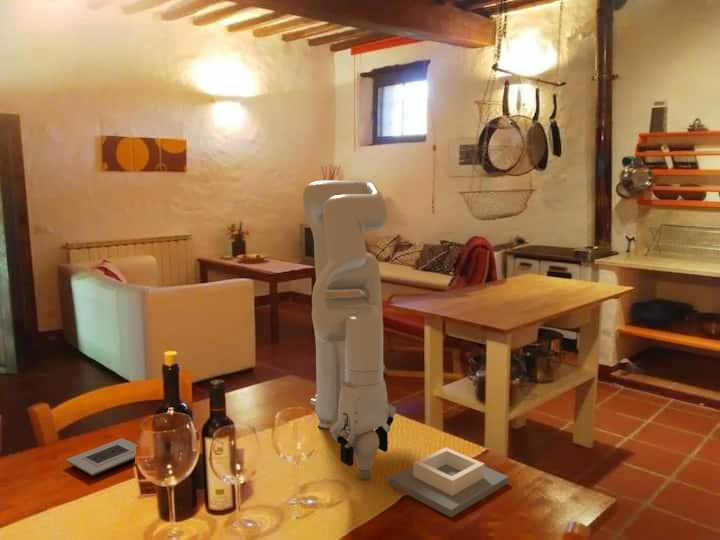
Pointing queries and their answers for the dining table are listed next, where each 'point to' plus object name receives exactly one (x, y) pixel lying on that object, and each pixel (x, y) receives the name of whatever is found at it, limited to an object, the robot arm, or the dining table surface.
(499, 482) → the lamp base
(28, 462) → the dining table surface
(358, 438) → the lightbulb
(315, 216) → the robot arm
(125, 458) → the electrical outlet
